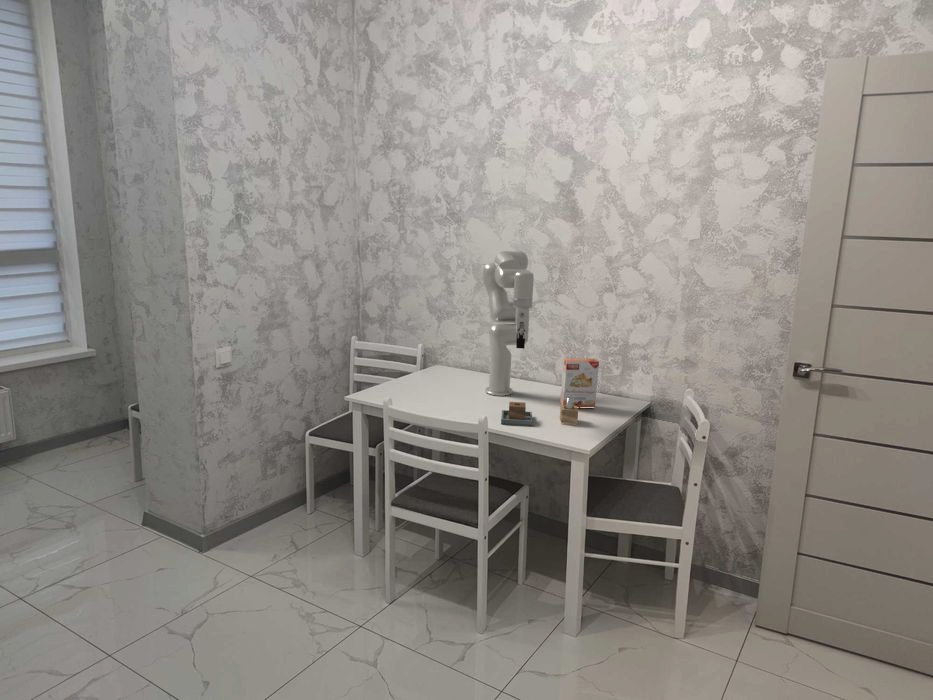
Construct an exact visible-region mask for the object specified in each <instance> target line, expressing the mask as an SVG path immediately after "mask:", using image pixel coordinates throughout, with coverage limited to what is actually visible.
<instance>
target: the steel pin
mask: <svg viewBox="0 0 933 700" xmlns="http://www.w3.org/2000/svg"><path fill="white" fill-rule="evenodd" d="M572 405H573V398H572V397H567V403H566V409H572Z"/></svg>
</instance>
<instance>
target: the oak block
mask: <svg viewBox="0 0 933 700" xmlns="http://www.w3.org/2000/svg"><path fill="white" fill-rule="evenodd" d="M559 410H560V411H559V422H561V423H564V424H563V425H569V424H577V425H578V421H579V420H578V418H579V408H577V406H572V409H566V405H560V409H559ZM561 423H560V424H561Z"/></svg>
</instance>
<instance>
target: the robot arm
mask: <svg viewBox="0 0 933 700" xmlns="http://www.w3.org/2000/svg"><path fill="white" fill-rule="evenodd" d="M528 265H529V258H528V255H527V254H526V253H525V252H523V251H512V250H511V251H508V250H505V251H504V250H503V251H500V252H498V253H496V255H495V257H494V262H492V263H487V264H485V265H484V267H483V270H482V279H483V284H484V287H485V289H486V291H487V294H488V301H489V310H490V311H489V313H490V317H491V321H492V322H494V323H495V324H493V325H492V326H491V327H490V328H489V331H488V333H489V335H488V336H489V346H490V351H489V355H490V356H489V377H488V378H489V380H488V387H486V388H485V390H484V391H485V393H486V394H488V395H492V396H499V397H503V396H505V395H506V396H510V394H511V395H513V393H514V390H513V388H510V387H511V372H512V371H511V370H512V353H511V351H510V349H508V348H507V346H516V349H523V350H524V349H525V345H526V344H527V343H528V341H529V326H530V309H532V308H533V297H534V281H535V279H534V278H535V276H534V273H532V272H531V271H530V270H528V267H529V266H528ZM506 289H513V297H512V298H513V299H512V300H513V301H509V298H508V291H507V290H506ZM506 396H505V397H506Z"/></svg>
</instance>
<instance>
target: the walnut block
mask: <svg viewBox="0 0 933 700" xmlns="http://www.w3.org/2000/svg"><path fill="white" fill-rule="evenodd" d="M526 409H527V406H526V402H523V401H521V402H519V401H509V402H508V410H509V419H514V420H525V411H527V410H526Z"/></svg>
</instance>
